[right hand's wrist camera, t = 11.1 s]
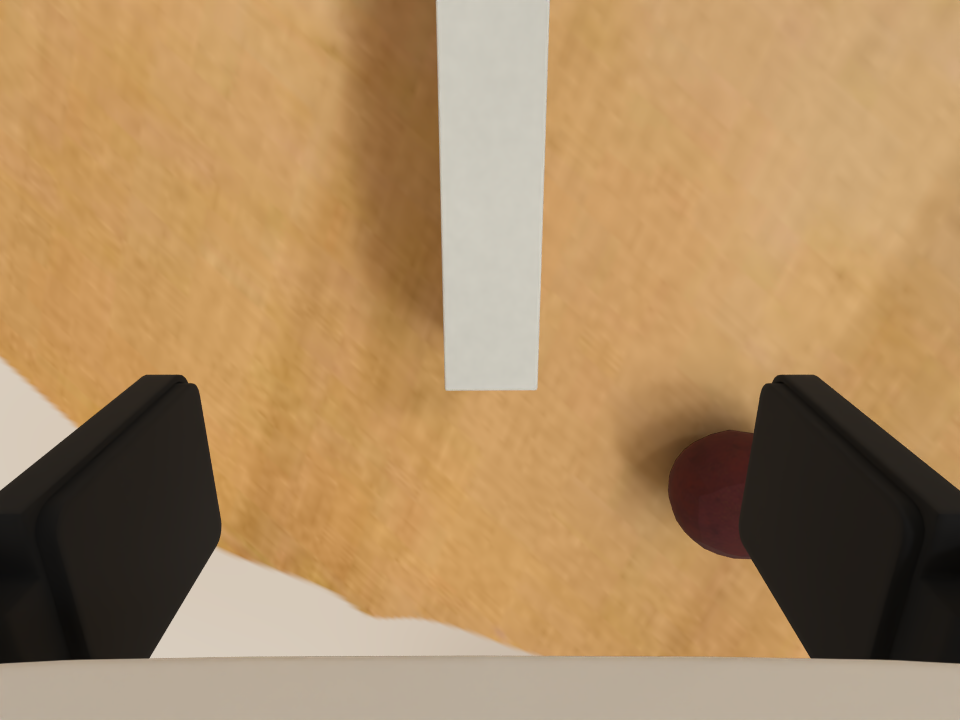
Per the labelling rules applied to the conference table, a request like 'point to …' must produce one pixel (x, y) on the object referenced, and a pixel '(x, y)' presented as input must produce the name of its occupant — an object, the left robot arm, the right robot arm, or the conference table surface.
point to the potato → (712, 491)
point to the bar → (491, 188)
